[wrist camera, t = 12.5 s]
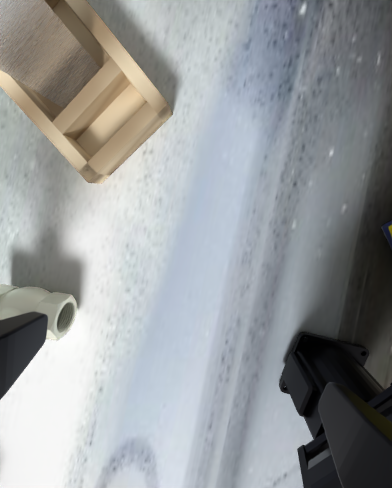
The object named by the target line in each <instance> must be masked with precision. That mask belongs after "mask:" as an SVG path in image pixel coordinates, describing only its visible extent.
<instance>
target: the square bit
mask: <svg viewBox="0 0 392 488" xmlns="http://www.w3.org/2000/svg"><path fill="white" fill-rule="evenodd" d="M100 69H101V68H100V67H99V66H98V65H97V63H96V62H95V61H94V60H93V58H92V57H91V56H90V55H89V54H88V52H87V51H86V50H85V49H84V48H83V46H82V45H81V44H80V43H79V41H78V40H77V39H76V38H75V37H74V35H73V34H72V33H71V32H70V31H69V29H68V28H67V27H66V26H65V25H64V23H63V22H62V21H61V20H60V18H59V17H58V16H57V15H56V14H55V12H54V11H53V10H52V9H51V8H50V6H49V5H48V4H47V3H46V2H45V0H0V70H2V71H3V72H5V73H7V74H8V75H10V76H11V77H13V78H15V79H16V80H18V81H20V82H21V83H23V84H25V85H26V86H28V87H30V88H31V89H33V90H35V91H36V92H38V93H39V94H41V95H43V96H44V97H46V98H48V99H49V100H51V101H53V102H54V103H56V104H58V105H59V106H61V107H62V108H64V109H65V108H66V106H67V105H68V104H69V103H70V102H71V101H72V100H73V99H74V98H75V97H76V96H77V94H78V93H79V92H80V91H81V90H82V89H83V88H84V87H85V86H86V85H87V83H88V82H89V81H90V80H91V79H92V78H93V77H94V76H95V75H96V74H97V72H98V71H99V70H100Z"/></svg>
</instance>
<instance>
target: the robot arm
mask: <svg viewBox="0 0 392 488" xmlns="http://www.w3.org/2000/svg"><path fill="white" fill-rule="evenodd" d="M47 326H48V316H47V315H46V314H44V313H40V312H36V311H32V312H28V313H25V314H21V315H17V316H14V317H10V318H6V319H2V320H0V400H1V398H2V397H3V396H4V395H5V394H6V393H7V391H8V390H9V389H10V388H11V386H12V385H13V384H14V382H15V381H16V380H17V378H18V377H19V376H20V375H21V373H22V372H23V371H24V369H25V368H26V367H27V365H28V364H29V363H30V361H31V360H32V359H33V357H34V356H35V355H36V354H37V352H38V351H39V350H40V348H41V347H42V346H43V344H44V342H45V340H46V336H47ZM304 337H306V338H305V339H303V338H304ZM362 351H363V352H362ZM361 352H362V353H361ZM368 356H369V351H368V350H367V349H366V348H365V347H364V346H361V345H356V344H352V343H348V342H344V341H340V340H336V339H332V338H328V337H323V336H319V335H315V334H311V333H307V332H301V333H300V334H299V335H298V337H297V339H296V342H295V345H294V347H293V350H292V352H291V353H290V354H289V357H288V359H287V362H286V365H285V367H284V370H283V372H282V378H281V381H280V383H279V387H280V390H281V391H282V392H284V393H287V394H290V395H291V398H292V400H293V403H294V405H295V407H296V410H297V412H298V414H299V415H300V416H303V417H304V419H305V421H306V423H307V425H308V428H309V430H310V432H311V434H312V437H313V439H314V440H312V441H311V442H309V443H308V444H307V445H302V446H301V447H299V448H298V449H297V450H298V456H299V462H300V468H301V474H302V480H303V486H304V488H392V383H391V384H390V385H391V386H390V387H388V388H387V389H384V388H383V387H382V386H381V385H380V384H379V383H378V382H377V381H376V380H375V379H374V378H373V376H372V375H371V374H370V373H369V372H368V371H367V370H366V369H365V368H364V367H363V366H364V364H365V362H366V360H367V358H368ZM285 386H286V387H285Z"/></svg>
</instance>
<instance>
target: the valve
mask: <svg viewBox="0 0 392 488" xmlns="http://www.w3.org/2000/svg"><path fill="white" fill-rule="evenodd" d="M32 311H36V312H40V313H44V314H46V315H47V316H48V326H47V336H46V339H49V340H55V341H58V340H59V339H61V338H62V337H63V336H64V335H65V334H66V333H67V332H68V331H69V330H70V328H71V326H72V324H73V322H74V320H75V316H76V312H77V303H76V300H75V299H74V297H73V296H72V295H71V294H65V293H59V292H54V293H50V292H49V291H47V290H45V289H43V288H39V287H22V288H19V287H18V286H12V285H5V284H0V320H2V319H6V318H10V317H14V316H17V315H21V314H25V313H28V312H32Z"/></svg>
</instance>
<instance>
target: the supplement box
mask: <svg viewBox="0 0 392 488" xmlns="http://www.w3.org/2000/svg"><path fill="white" fill-rule="evenodd" d="M381 228H382V230H383V232H384V234H385V236H386V238H387V240H388V242H389V245H390V247H391V250H392V221H390V222H388V223H386V224H384V225H383V226H382V227H381Z"/></svg>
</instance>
